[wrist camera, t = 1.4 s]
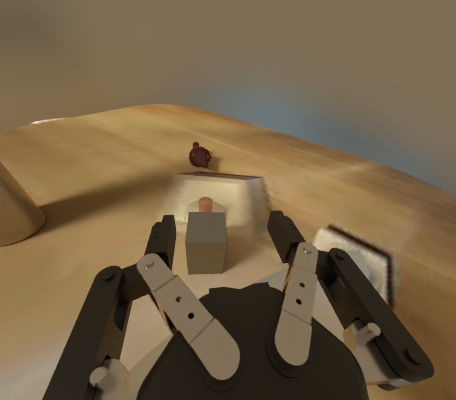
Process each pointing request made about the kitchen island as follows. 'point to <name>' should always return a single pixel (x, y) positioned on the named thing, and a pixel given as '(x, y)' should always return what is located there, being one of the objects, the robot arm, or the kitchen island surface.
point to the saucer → (195, 208)
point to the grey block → (206, 242)
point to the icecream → (199, 156)
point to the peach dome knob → (205, 204)
